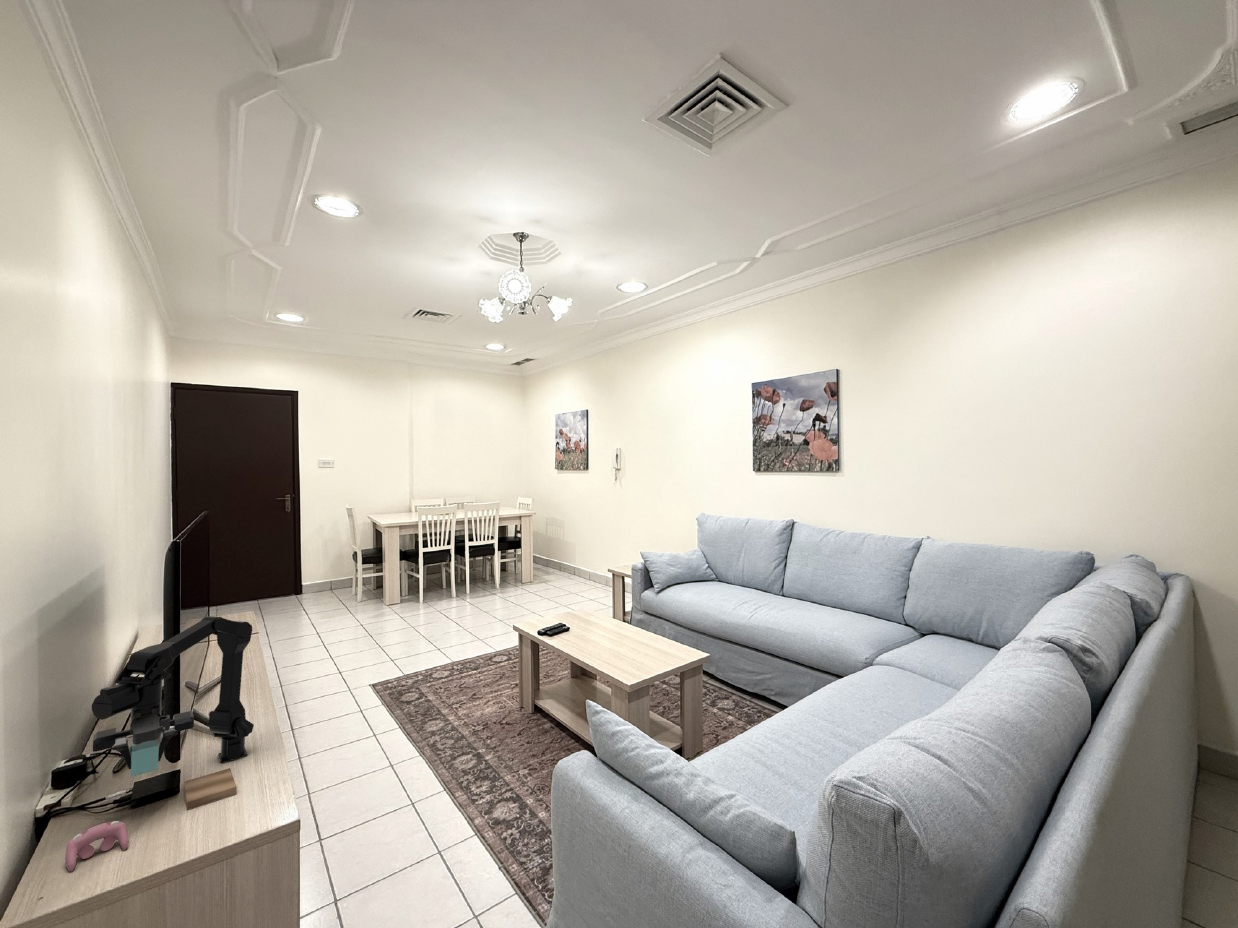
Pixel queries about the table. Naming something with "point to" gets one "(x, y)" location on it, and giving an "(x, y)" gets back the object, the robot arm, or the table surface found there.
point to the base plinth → (209, 788)
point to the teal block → (144, 757)
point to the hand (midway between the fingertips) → (144, 764)
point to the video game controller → (82, 840)
